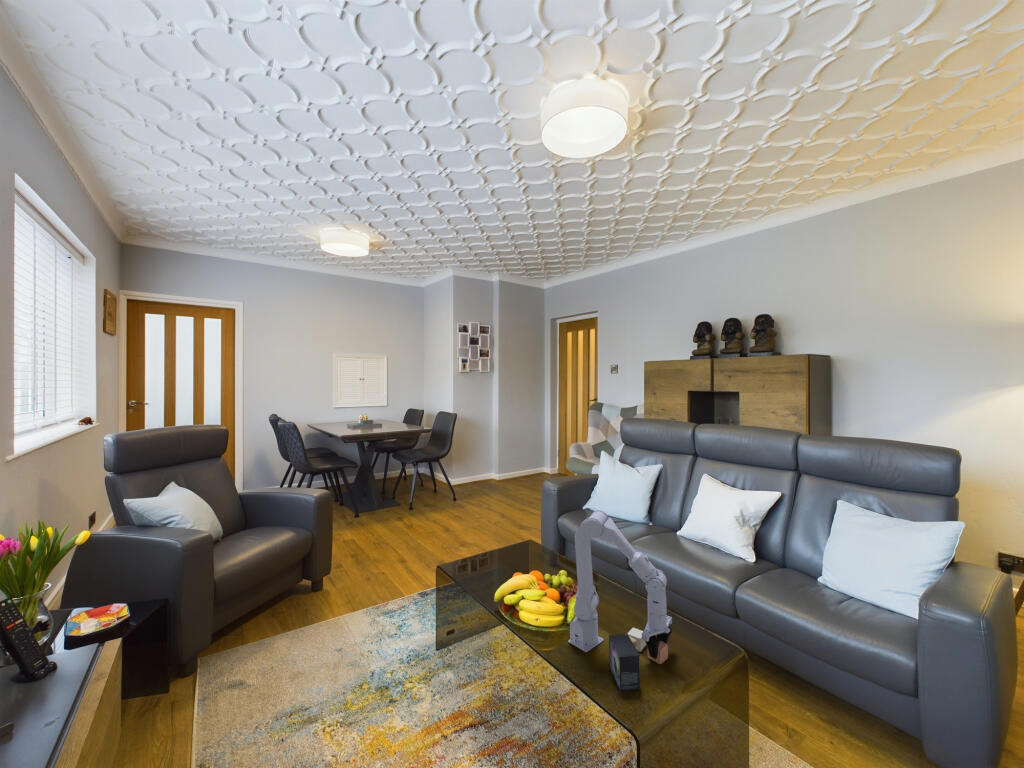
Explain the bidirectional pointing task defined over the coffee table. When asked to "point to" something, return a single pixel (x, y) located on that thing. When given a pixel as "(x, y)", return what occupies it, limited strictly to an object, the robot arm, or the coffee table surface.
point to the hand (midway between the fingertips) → (657, 653)
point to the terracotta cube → (660, 653)
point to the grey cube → (637, 638)
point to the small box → (624, 662)
